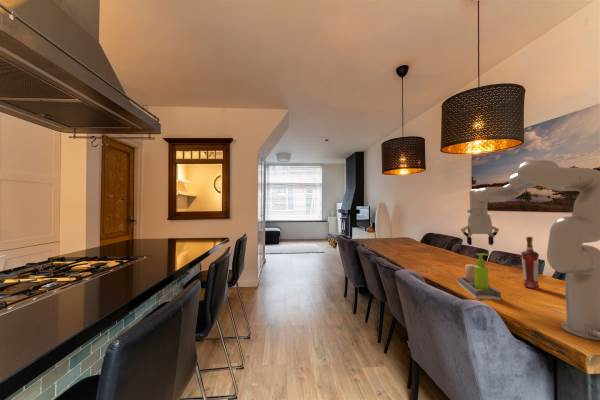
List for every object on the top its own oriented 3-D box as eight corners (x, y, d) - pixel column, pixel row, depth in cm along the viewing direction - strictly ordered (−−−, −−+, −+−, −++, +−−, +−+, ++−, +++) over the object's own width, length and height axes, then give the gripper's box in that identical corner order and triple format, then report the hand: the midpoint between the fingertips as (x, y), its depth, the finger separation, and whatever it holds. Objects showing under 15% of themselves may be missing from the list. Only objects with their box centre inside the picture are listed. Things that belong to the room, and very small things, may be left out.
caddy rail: (501, 299, 129) (500, 275, 129) (475, 298, 131) (474, 274, 131) (478, 284, 154) (478, 263, 154) (457, 283, 156) (457, 262, 157)
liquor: (523, 284, 151) (521, 235, 152) (540, 287, 146) (539, 236, 146) (521, 287, 146) (519, 237, 147) (539, 290, 141) (537, 238, 141)
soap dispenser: (493, 294, 134) (492, 254, 134) (478, 293, 135) (476, 254, 135) (487, 290, 139) (486, 252, 140) (473, 289, 141) (471, 252, 141)
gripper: (463, 212, 137) (464, 245, 136) (501, 212, 133) (502, 246, 132) (458, 212, 144) (459, 243, 144) (494, 211, 140) (495, 244, 139)
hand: (480, 244), depth 138 cm, fingers open, 9 cm apart
